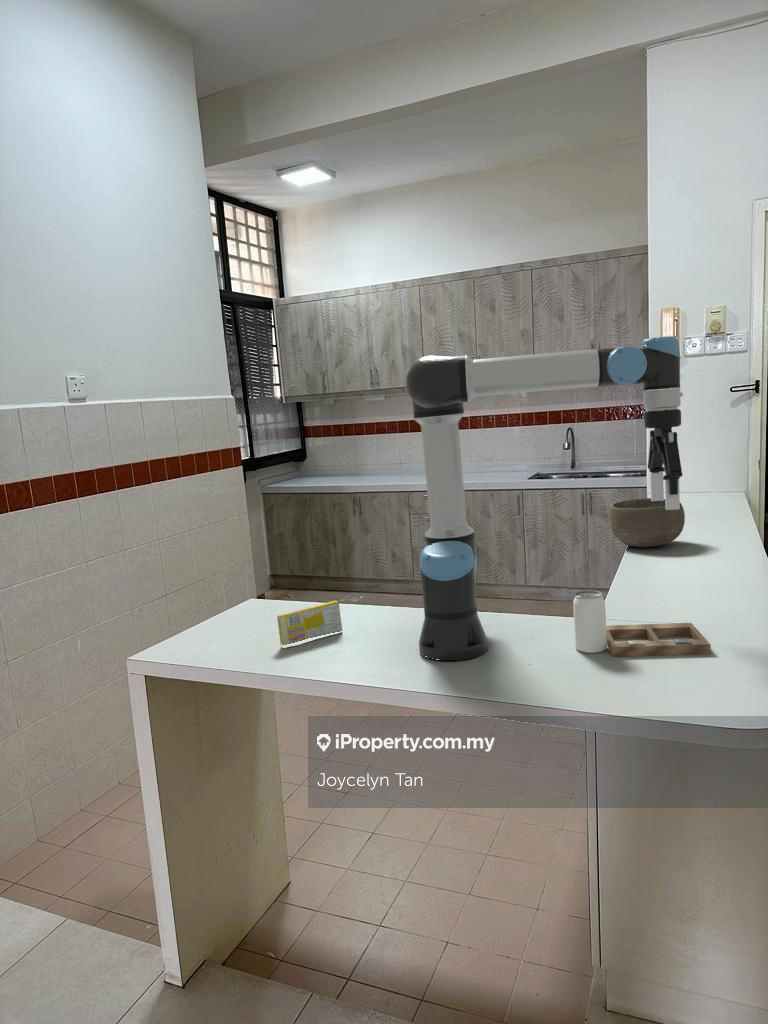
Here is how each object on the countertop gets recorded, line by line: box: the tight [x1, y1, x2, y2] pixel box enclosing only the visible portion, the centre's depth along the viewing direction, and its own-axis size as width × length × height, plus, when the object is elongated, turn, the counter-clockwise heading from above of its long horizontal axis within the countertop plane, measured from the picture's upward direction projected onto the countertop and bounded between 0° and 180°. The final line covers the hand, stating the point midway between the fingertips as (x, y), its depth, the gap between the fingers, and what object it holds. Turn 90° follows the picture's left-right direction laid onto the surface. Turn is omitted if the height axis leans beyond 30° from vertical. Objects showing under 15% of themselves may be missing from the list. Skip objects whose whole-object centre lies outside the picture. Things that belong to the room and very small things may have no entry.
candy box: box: [276, 600, 343, 645], centre depth 171 cm, size 16×2×8 cm, turn 123°
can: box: [572, 590, 608, 655], centre depth 148 cm, size 6×6×12 cm
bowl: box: [608, 497, 686, 548], centre depth 242 cm, size 24×24×15 cm
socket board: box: [606, 622, 712, 658], centre depth 149 cm, size 19×14×2 cm
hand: (664, 505), depth 157 cm, fingers open, 13 cm apart
